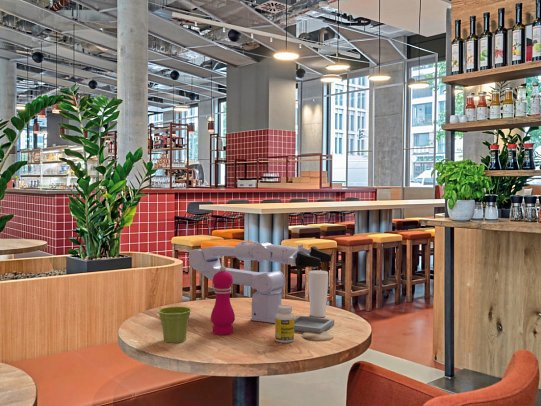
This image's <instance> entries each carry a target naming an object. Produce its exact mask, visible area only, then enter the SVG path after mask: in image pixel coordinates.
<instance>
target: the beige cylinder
mask: <svg viewBox="0 0 541 406" xmlns="http://www.w3.org/2000/svg"><path fill="white" fill-rule="evenodd" d="M307 275H308V276H307V277H308V278H307V286H308V299H309V315H310V317H317V318H323V317H324V318H325V316H326V315H327V303H328V290H329V272H328V271H327V270H319V269H318V270H315V269H314V270H309V271H308V273H307Z"/></svg>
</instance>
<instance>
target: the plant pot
mask: <svg viewBox="0 0 541 406" xmlns="http://www.w3.org/2000/svg"><path fill="white" fill-rule="evenodd" d="M157 313H158V315H159V318H160V322H161V328H162V336H163V341H164V342H166V343H171V342H172V343H174V344H176V343H181V342H184V341H185V340H186V339H187V333H188V326H189V325H188V323H189V317H190V315H191V313H192V308H191V307H187V306H166V307H162V308H160V309H158V310H157Z"/></svg>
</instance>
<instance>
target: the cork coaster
mask: <svg viewBox="0 0 541 406" xmlns="http://www.w3.org/2000/svg"><path fill="white" fill-rule="evenodd" d="M302 338H303V339H306V340H308V341H314V342H323V341H324V342H325V341H330V340H332V339H334V334H333V333H331V332H328V331H323V332H322V333H314V332H305V333H304V332H302Z"/></svg>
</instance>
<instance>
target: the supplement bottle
mask: <svg viewBox="0 0 541 406" xmlns="http://www.w3.org/2000/svg"><path fill="white" fill-rule="evenodd" d="M278 312H279V313H277V314H276V316H275V323H274V324H275V325H274V326H275V327H274V329H275V330H274V334H275V335H274V340H275V341H276V342H279V343H283V344H288V343H291V342H293V341H294V340H295V331H294V318H295V315H294V313H292V312H293V306H292V305H290V304H281V305H279V306H278Z"/></svg>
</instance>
